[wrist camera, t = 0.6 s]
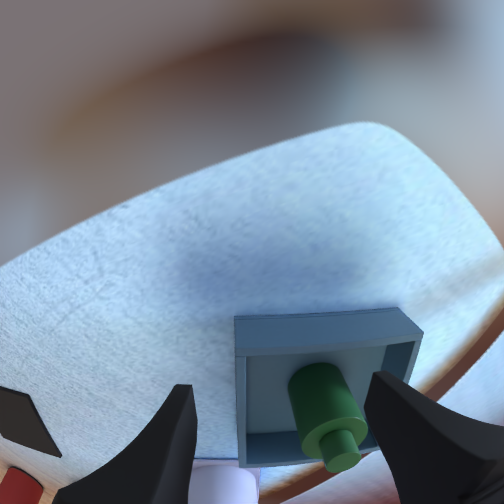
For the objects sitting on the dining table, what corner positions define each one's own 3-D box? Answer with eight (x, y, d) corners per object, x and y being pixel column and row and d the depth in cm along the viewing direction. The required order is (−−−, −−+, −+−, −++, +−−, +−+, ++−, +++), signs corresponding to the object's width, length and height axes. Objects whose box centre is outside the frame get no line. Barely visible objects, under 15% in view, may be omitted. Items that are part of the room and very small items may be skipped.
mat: (62, 455, 25) (60, 458, 24) (4, 435, 24) (3, 437, 23) (29, 394, 22) (26, 397, 21) (-29, 376, 21) (-31, 378, 21)
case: (367, 420, 24) (381, 449, 21) (237, 434, 24) (238, 468, 20) (398, 306, 21) (424, 332, 17) (234, 315, 20) (234, 348, 17)
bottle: (337, 401, 23) (368, 474, 15) (285, 406, 22) (303, 485, 15) (346, 359, 22) (387, 433, 14) (289, 364, 21) (312, 447, 14)
